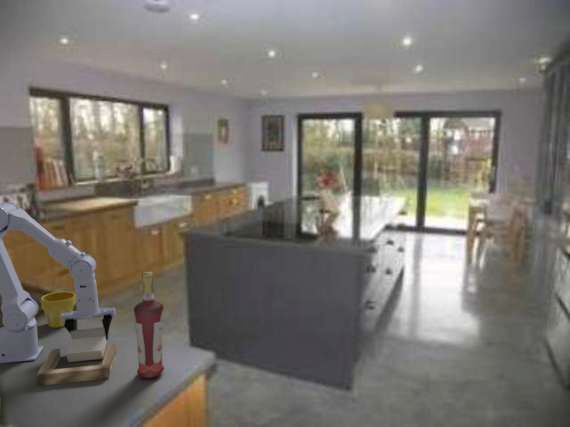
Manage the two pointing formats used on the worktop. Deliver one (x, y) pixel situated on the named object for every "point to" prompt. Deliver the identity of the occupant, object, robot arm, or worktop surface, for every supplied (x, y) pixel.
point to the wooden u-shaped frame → (74, 369)
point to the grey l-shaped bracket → (87, 344)
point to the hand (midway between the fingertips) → (91, 340)
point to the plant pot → (57, 306)
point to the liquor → (149, 331)
